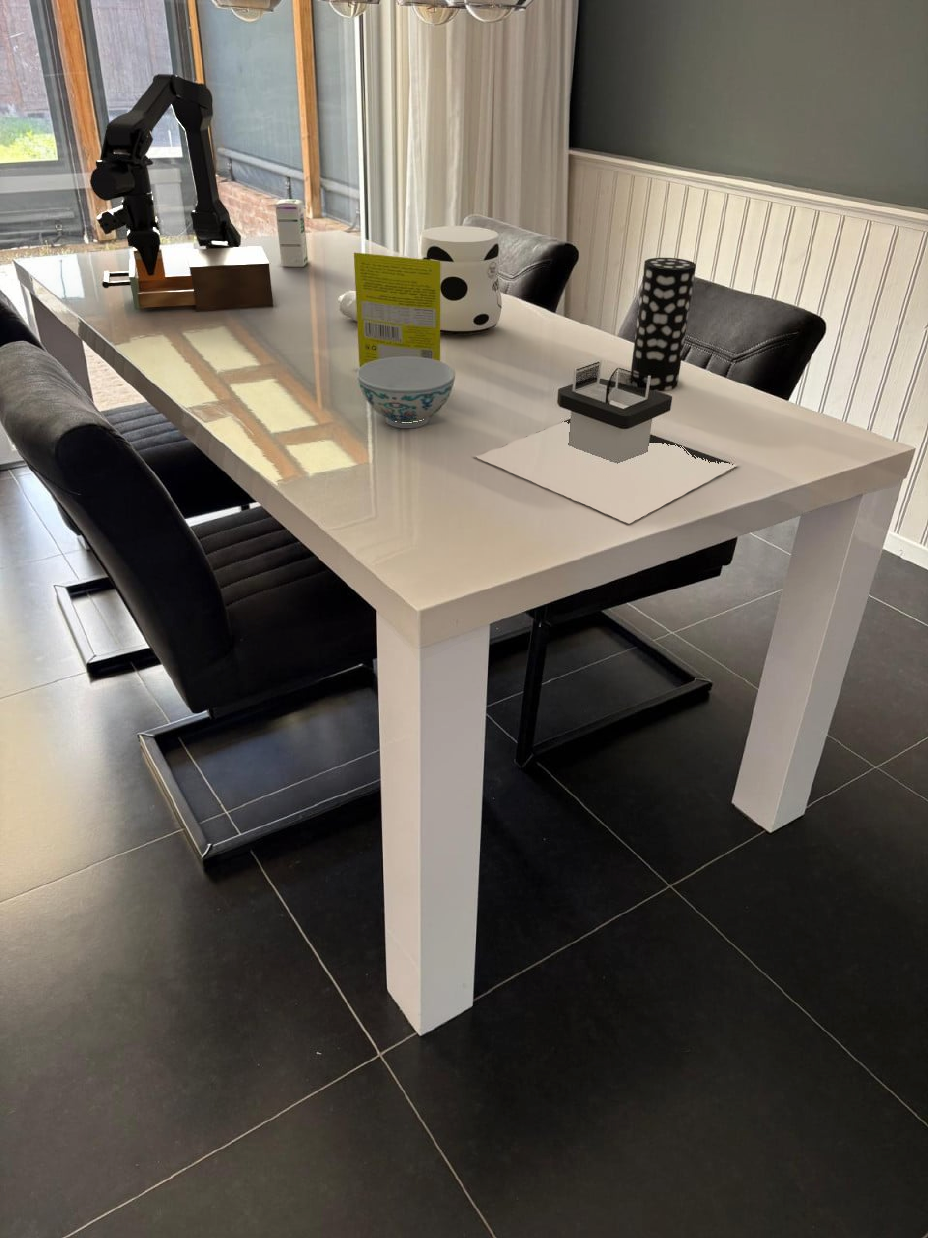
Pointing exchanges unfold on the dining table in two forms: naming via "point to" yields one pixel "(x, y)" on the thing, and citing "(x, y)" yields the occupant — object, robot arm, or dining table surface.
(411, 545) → the dining table surface
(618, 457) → the black-topped pedestal
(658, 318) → the white-spotted black cylinder
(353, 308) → the roll
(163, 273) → the snack box
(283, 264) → the syrup box
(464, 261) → the milk container
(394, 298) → the food package
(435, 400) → the chinaware
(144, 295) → the drawer
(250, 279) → the organizer
